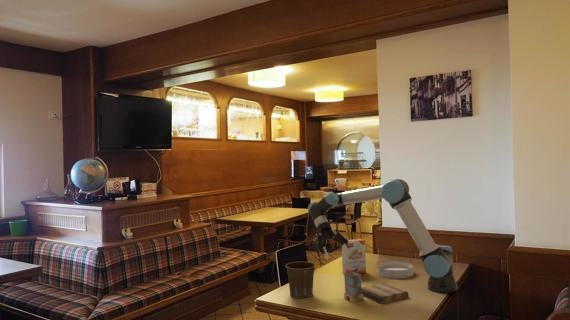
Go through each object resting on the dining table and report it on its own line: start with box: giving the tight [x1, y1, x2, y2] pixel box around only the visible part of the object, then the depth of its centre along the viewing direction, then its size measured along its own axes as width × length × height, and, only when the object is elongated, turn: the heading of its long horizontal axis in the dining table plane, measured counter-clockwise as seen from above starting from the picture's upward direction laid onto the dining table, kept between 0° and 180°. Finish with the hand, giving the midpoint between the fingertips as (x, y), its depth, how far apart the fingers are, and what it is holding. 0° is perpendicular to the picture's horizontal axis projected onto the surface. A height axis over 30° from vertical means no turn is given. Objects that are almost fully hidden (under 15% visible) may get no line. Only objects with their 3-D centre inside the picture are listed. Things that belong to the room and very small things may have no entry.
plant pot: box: [285, 261, 316, 299], centre depth 216 cm, size 16×16×16 cm
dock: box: [361, 282, 409, 304], centre depth 209 cm, size 18×18×3 cm
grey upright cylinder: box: [343, 272, 364, 303], centre depth 205 cm, size 7×7×13 cm
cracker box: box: [341, 238, 367, 275], centre depth 253 cm, size 14×6×21 cm, turn 105°
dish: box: [376, 261, 415, 279], centre depth 248 cm, size 22×22×5 cm
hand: (338, 256), depth 216 cm, fingers open, 13 cm apart
